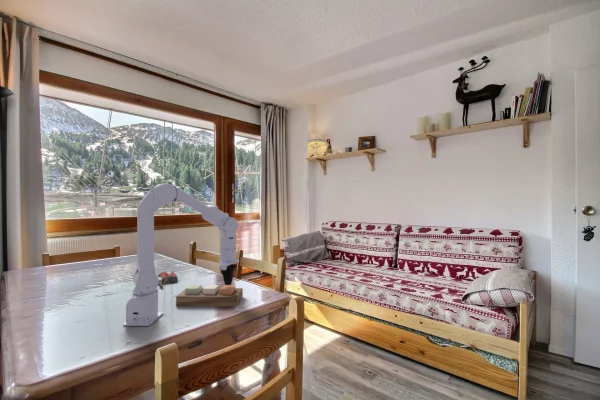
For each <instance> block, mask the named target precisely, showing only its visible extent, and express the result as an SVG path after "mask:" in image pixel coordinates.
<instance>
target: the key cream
mask: <svg viewBox="0 0 600 400" xmlns="http://www.w3.org/2000/svg"><path fill="white" fill-rule="evenodd" d="M202 288H203V294H205V295H215V294H216V293H217V292H218V288H219V285H218V284H207V285H205V286H204V287H202Z"/></svg>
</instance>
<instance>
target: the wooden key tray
mask: <svg viewBox="0 0 600 400" xmlns="http://www.w3.org/2000/svg"><path fill="white" fill-rule="evenodd" d="M203 288H204V287H202V291H201V292H200V293H199V294H186V288H184V290H182V291H181V292H180V293H179V294H177V295H176V296H175V306H176V307H224V308H225V307H227V306H229V307H230V306H237V305H238V306H239V304H240V303H241V301H240V300H242V299H243V296H244V293H243V292H244V290H243V288H241V287H235V292H234V293H233V295H221V288H222V287H218V292H217V293H216V294H215V295H205V294H203ZM241 298H242V299H241ZM238 306H237V307H238Z"/></svg>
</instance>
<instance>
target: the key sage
mask: <svg viewBox="0 0 600 400" xmlns="http://www.w3.org/2000/svg"><path fill="white" fill-rule="evenodd" d="M202 286H203V285H202V284H189V285H188V286H187V287H186V288H185V289H186V294H199V293H200V292H201V291H202V288H203V287H202Z"/></svg>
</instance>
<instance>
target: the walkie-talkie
mask: <svg viewBox="0 0 600 400" xmlns="http://www.w3.org/2000/svg"><path fill="white" fill-rule="evenodd" d="M157 277H158V280H159V284H158V286H160V288H164V285H165V284H172V283H177V282H178V279H179V277H178V275H177V274H176V273H175V272H174V271H171V270H166V271H162V272H161V271H160V273H159V274H158V275H157Z"/></svg>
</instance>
